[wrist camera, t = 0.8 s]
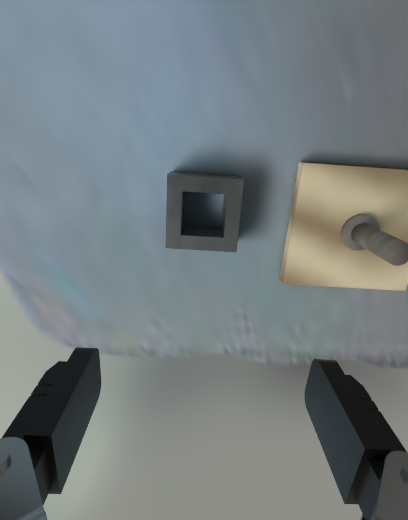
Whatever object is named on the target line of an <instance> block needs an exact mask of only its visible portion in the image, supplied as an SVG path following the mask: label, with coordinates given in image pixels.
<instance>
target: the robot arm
mask: <svg viewBox="0 0 408 520" xmlns="http://www.w3.org/2000/svg"><path fill="white" fill-rule="evenodd" d="M100 389H101V372H100V359H99V350H98V349H97V348H78V347H77V348H75V350H74V351H73V353H72V354H71V356H70V358H69V359H68V361H67V362H62V361H59V362H57V363H56V364H55V365H54V366H53V367H51V368H50V369H49V370H47V371H46V373H45V374H44V375H43V377H42V378H41V380H40V381H39V383H38V386H36V387H35V389H34V391H33V392H32V393H31V396H30V397H29V398H28V400H27V401H26V402H25V404H24V405H23V407H22V409H21V410H20V411H19V413H18V415H17V416H16V417H15V419H14V420H13V422H12V423H11V425H10V426H9V428H8V430H7V431H6V432H5V434H4V435H3V437H2V438H1V439H0V520H47V516H46V513H45V511H44V508H43V505H44V502H45V500H46V498H47V495H48V494H61V492H62V490H63V487H64V484H65V482H66V479H67V477H68V474H69V472H70V469H71V467H72V464H73V462H74V459H75V457H76V454H77V452H78V449H79V446H80V444H81V441H82V439H83V436H84V434H85V431H86V428H87V426H88V424H89V421H90V419H91V416H92V414H93V411H94V408H95V406H96V403H97V401H98V398H99V394H100ZM305 404H306V408H307V410H308V413H309V415H310V418H311V421H312V423H313V426H314V428H315V431H316V433H317V435H318V438H319V440H320V443H321V446H322V448H323V450H324V453H325V456H326V458H327V460H328V463H329V466H330V468H331V471H332V473H333V476H334V478H335V481H336V483H337V486H338V488H339V491H340V493H341V496H342V498H343V501H344V503H345V504H359V506H360V509H361V511H362V513H363V514H362V517H361V520H408V453H407V451H406V450H405V448H404V447H403V446H402V444H401V443H400V441H399V439H398V438H397V436H396V435H395V433H394V432H393V430H392V429H391V427H390V426H389V424H388V423H387V421H386V420H385V419H384V417H383V415H382V414H381V412H380V411H378V408H377V406H376V405H375V403H374V402H373V401H372V400H371V398H370V396H369V394H368V393H367V391H366V390H365V388H364V387H363V386H362V385H361V384H360V383H359V382H358V381H357V380H356V379H354V378H353V377H352V376H351V375H345V374H344V372H343V371H342V369H341V368H340V366H339V364H338V363H337V362H336V361H335V360H322V359H314V360H313V361H312V364H311V368H310V372H309V377H308V380H307V385H306V389H305Z"/></svg>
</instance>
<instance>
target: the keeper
mask: <svg viewBox="0 0 408 520" xmlns="http://www.w3.org/2000/svg"><path fill="white" fill-rule="evenodd" d="M280 280H281V282H282V284H294V285H312V286H330V287H348V288H366V289H384V290H402V291H406V288H407V285H408V170H403V169H389V168H375V167H360V166H346V165H332V164H318V163H303V162H299V166H298V172H297V178H296V184H295V190H294V196H293V202H292V208H291V214H290V220H289V226H288V231H287V237H286V243H285V249H284V255H283V261H282V267H281V273H280Z"/></svg>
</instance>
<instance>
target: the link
mask: <svg viewBox="0 0 408 520" xmlns="http://www.w3.org/2000/svg"><path fill="white" fill-rule="evenodd" d="M243 188H244V179H243V178H241V177H240V176H229V175H215V174H200V173H185V172H170V173H169V174H167V213H166V248H174V249H191V250H207V251H224V252H236V251H237V242H238V233H239V224H240V215H241V206H242V197H243ZM184 191H186V192H201V193H217V194H224V203H223V214H222V226H221V229H218V228H202V227H186V226H182V224H183V201H184Z"/></svg>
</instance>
